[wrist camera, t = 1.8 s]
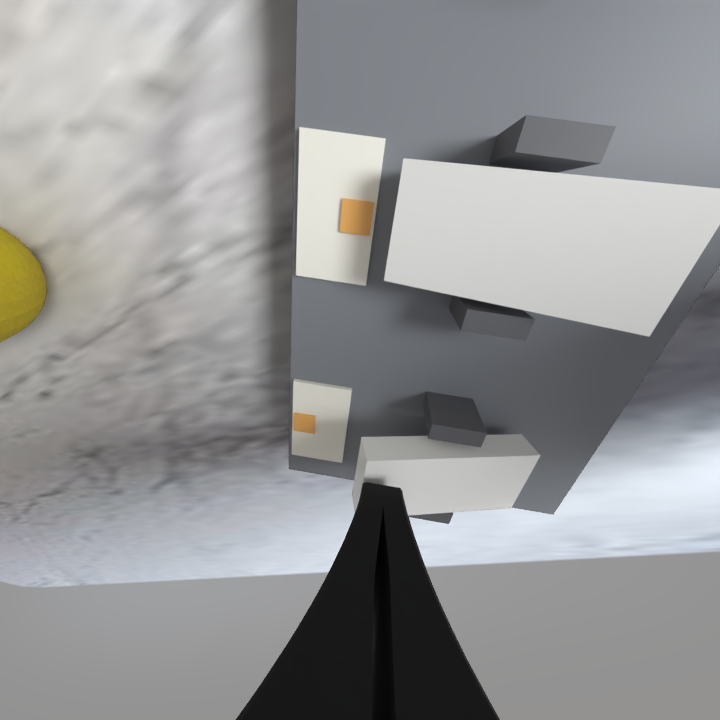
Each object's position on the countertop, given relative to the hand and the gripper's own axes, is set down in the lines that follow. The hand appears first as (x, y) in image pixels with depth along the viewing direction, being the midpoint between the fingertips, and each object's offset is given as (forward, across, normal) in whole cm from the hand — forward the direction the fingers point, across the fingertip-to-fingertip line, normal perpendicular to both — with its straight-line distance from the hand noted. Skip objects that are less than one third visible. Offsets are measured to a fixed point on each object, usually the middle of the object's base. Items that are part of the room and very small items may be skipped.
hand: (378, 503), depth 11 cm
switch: (+2, -2, 0) cm, 3 cm away
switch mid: (+2, -2, -9) cm, 10 cm away
